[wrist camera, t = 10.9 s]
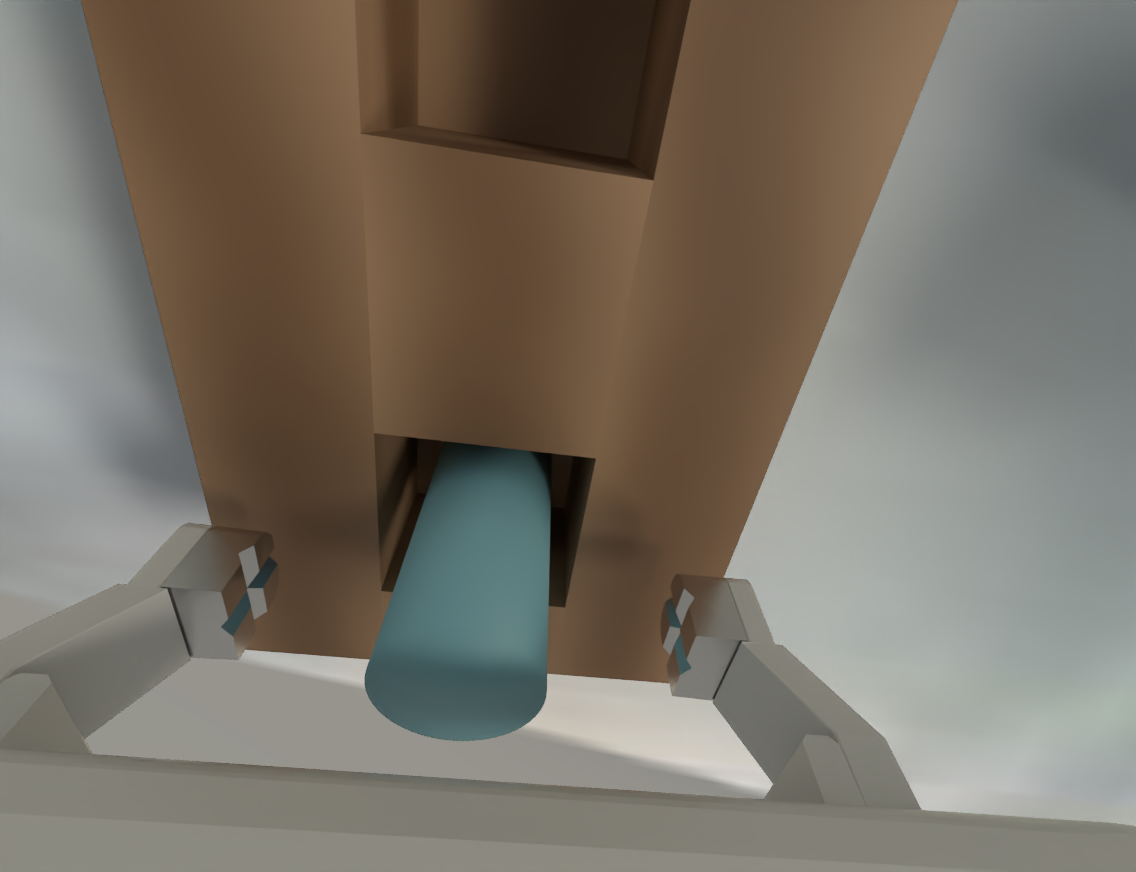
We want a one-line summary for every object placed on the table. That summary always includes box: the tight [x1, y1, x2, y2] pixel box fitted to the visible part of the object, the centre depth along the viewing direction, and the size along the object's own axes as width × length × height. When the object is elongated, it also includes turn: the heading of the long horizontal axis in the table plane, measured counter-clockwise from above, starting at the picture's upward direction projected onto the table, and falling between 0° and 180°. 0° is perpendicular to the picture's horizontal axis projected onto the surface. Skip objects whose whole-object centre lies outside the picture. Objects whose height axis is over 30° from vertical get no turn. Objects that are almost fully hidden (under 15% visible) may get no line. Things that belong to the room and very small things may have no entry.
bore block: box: [81, 0, 958, 683], centre depth 12 cm, size 12×20×5 cm, turn 172°
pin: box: [365, 441, 552, 741], centre depth 13 cm, size 3×3×8 cm
